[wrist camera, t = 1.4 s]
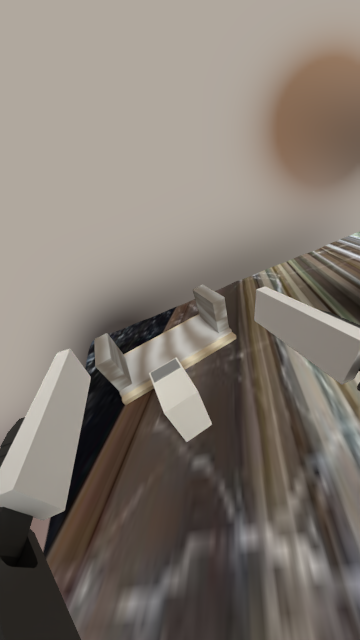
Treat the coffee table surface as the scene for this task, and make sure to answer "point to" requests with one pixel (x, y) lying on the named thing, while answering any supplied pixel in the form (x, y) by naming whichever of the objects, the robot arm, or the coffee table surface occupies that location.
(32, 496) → the robot arm
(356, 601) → the coffee table surface
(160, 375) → the block
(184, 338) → the board
